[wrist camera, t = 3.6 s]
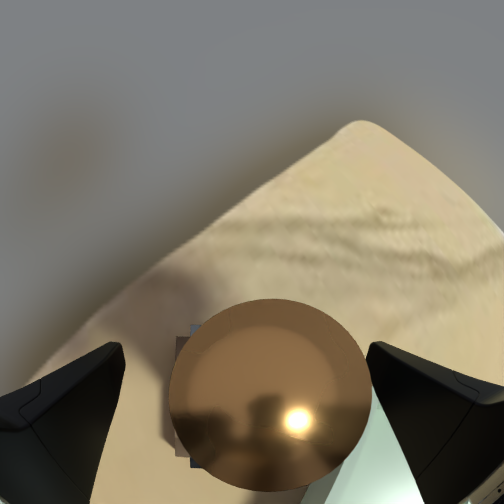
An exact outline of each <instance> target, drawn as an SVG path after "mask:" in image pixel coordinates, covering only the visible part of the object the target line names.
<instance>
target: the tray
mask: <svg viewBox="0 0 504 504" xmlns="http://www.w3.org/2000/svg"><path fill="white" fill-rule="evenodd" d="M300 504H424V502H423V500H422V497H421V495H420V492H419V490H418V487H417V485H416V483H415V480H414V477H413V475H412V473H411V470H410V468H409V466H408V463H407V461H406V459H405V456H404V454H403V452H402V450H401V447H400V445H399V443H398V441H397V439H396V436H395V434H394V432H393V430H392V428H391V426H390V423H389V421H388V419H387V417H386V415H385V413H384V411H383V409H382V407H381V404H380V402H379V400H378V398H377V396H376V393H375V391H374V388H373V387H372V404H371V411H370V415H369V419H368V423H367V425H366V428H365V431H364V433H363V435H362V437H361V439H360V440H359V442H358V444H357V445H356V447H355V448H354V450H353V451H352V452H351V454H350V455H349V456H348V457H347V458H346V459H345V460H344V461H343V462H342V463H341V464H340V465H339V466H338V467H337V468H335V469H334V470H333V471H332V472H330V473H329V474H327V475H326V476H324V477H322V478H321V479H319V480H317V481H315V482H312V483H310V485H309V487H308V489H307V491H306V493H305V495H304V497H303V499H302V501H301V503H300ZM463 504H471V503H470V502H469V500H468V501H466V502H465V503H463Z"/></svg>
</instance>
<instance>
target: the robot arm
mask: <svg viewBox="0 0 504 504" xmlns="http://www.w3.org/2000/svg"><path fill="white" fill-rule="evenodd" d="M366 362H367V365H368V369H369V372H370V377H371V382H372V385H373V388H374V391H375V393H376V396H377V398H378V400H379V402H380V404H381V407H382V409H383V411H384V413H385V415H386V417H387V419H388V421H389V423H390V426H391V428H392V430H393V432H394V434H395V436H396V439H397V441H398V443H399V445H400V447H401V450H402V452H403V454H404V456H405V459H406V461H407V463H408V466H409V468H410V470H411V473H412V475H413V477H414V480H415V483H416V485H417V487H418V490H419V492H420V495H421V497H422V500H423V502H424V504H463V503H465V502H466V501H468V500H469V502H470V503H471V504H504V386H500V385H496V384H493V383H489V382H486V381H483V380H479V379H476V378H473V377H470V376H467V375H464V374H462V373H459V372H456V371H454V370H453V371H452V370H451V369H449V368H446V367H443V366H441V365H438V364H436V363H433V362H431V361H428V360H426V359H423V358H421V357H418V356H416V355H414V354H411V353H409V352H406V351H404V350H401V349H399V348H397V347H394V346H392V345H389V344H387V343H385V342H382V341H377V342H372V343H371V344H370V346H369V350H368V353H367V356H366ZM125 365H126V364H125V358H124V353H123V348H122V345H121V343H119V342H108V343H106V344H104V345H102V346H101V347H99V348H97V349H95V350H93V351H91V352H89V353H88V354H86V355H84V356H82V357H80V358H78V359H76V360H74V361H73V362H71V363H69V364H67V365H65V366H63V367H61V368H59V369H58V370H56V371H54V372H52V373H50V374H48V375H46V376H44V377H42V378H41V379H39V380H37V381H35V382H33V383H31V384H29V385H27V386H25V387H23V388H21V389H18V390H16V391H14V392H12V393H9V394H6V395H4V396H2V397H0V504H89V503H90V501H89V500H90V498H91V494H92V490H93V486H94V482H95V478H96V474H97V470H98V466H99V462H100V459H101V455H102V452H103V448H104V445H105V441H106V438H107V435H108V432H109V428H110V425H111V422H112V419H113V416H114V413H115V410H116V407H117V403H118V399H119V395H120V390H121V385H122V380H123V376H124V371H125Z"/></svg>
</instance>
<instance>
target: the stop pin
mask: <svg viewBox="0 0 504 504" xmlns="http://www.w3.org/2000/svg"><path fill="white" fill-rule="evenodd" d="M371 404H372V383H371V377H370V372H369V369H368V365H367V362H366V360H365V358H364V355H363V353H362V351H361V349H360V348H359V346H358V344H357V343H356V341H355V340H354V339H353V337H352V336H351V335H350V334H349V332H348V331H347V330H346V329H345V328H344V327H343V326H342V325H341V324H340V323H338V322H337V321H336V320H334V319H333V318H332V317H330V316H329V315H327V314H325V313H324V312H322V311H320V310H318V309H316V308H314V307H311V306H309V305H306V304H303V303H299V302H295V301H290V300H284V299H260V300H254V301H248V302H245V303H241V304H238V305H235V306H232V307H230V308H228V309H226V310H223V311H222V312H220V313H218V314H217V315H215V316H213V317H212V318H210V319H209V320H208V321H206V322H205V323H204V324H203V325H191V332H190V338H189V340H188V341H187V342H186V344H185V345H184V347H183V348H182V350H181V352H180V354H179V355H178V357H177V360H176V362H175V365H174V368H173V371H172V375H171V379H170V385H169V409H170V414H171V419H172V423H173V426H174V429H175V431H176V434H177V436H178V438H179V440H180V442H181V443H182V445H183V447H184V448H185V450H186V451H187V452H188V454H189V455H190V468H203V469H204V470H206V471H207V472H208V473H210V474H211V475H212V476H214V477H216V478H218V479H220V480H221V481H223V482H225V483H228V484H230V485H233V486H236V487H239V488H243V489H247V490H252V491H262V492H276V491H285V490H291V489H295V488H299V487H302V486H305V485H308V484H310V483H312V482H315V481H317V480H319V479H321V478H322V477H324V476H326V475H327V474H329V473H330V472H332V471H333V470H334V469H335V468H337V467H338V466H339V465H340V464H341V463H342V462H343V461H344V460H345V459H346V458H347V457H348V456H349V455H350V454H351V452H352V451H353V450H354V448H355V447H356V445H357V444H358V442H359V440H360V439H361V437H362V435H363V433H364V431H365V428H366V425H367V423H368V419H369V415H370V411H371Z"/></svg>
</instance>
